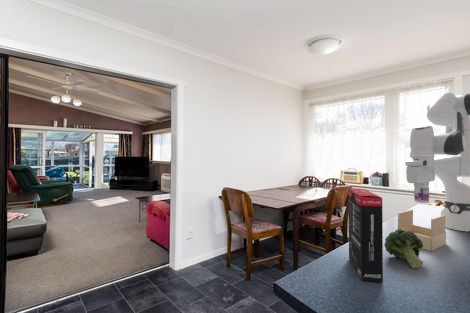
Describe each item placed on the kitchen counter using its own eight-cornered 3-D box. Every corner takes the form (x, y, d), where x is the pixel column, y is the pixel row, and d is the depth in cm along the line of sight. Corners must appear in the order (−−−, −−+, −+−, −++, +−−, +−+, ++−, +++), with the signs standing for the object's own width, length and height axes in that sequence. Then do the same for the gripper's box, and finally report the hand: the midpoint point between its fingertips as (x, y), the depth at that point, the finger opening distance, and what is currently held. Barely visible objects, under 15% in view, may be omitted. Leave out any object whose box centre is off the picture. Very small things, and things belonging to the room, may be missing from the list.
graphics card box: (384, 284, 75) (385, 195, 75) (360, 282, 76) (360, 195, 76) (366, 260, 92) (366, 188, 91) (346, 259, 93) (347, 187, 93)
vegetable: (390, 262, 85) (373, 231, 98) (408, 282, 88) (389, 250, 102) (426, 247, 81) (403, 217, 94) (443, 269, 84) (419, 237, 97)
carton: (412, 235, 120) (412, 209, 120) (445, 244, 109) (446, 215, 109) (396, 241, 112) (397, 213, 112) (431, 251, 101) (432, 219, 101)
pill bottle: (411, 200, 113) (411, 180, 113) (421, 200, 113) (421, 180, 113) (421, 203, 107) (421, 181, 107) (432, 203, 108) (432, 181, 108)
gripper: (423, 161, 119) (423, 189, 119) (403, 161, 108) (403, 193, 108) (439, 161, 113) (439, 191, 113) (420, 162, 102) (419, 195, 102)
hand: (421, 192), depth 110 cm, fingers closed on pill bottle, 5 cm apart
